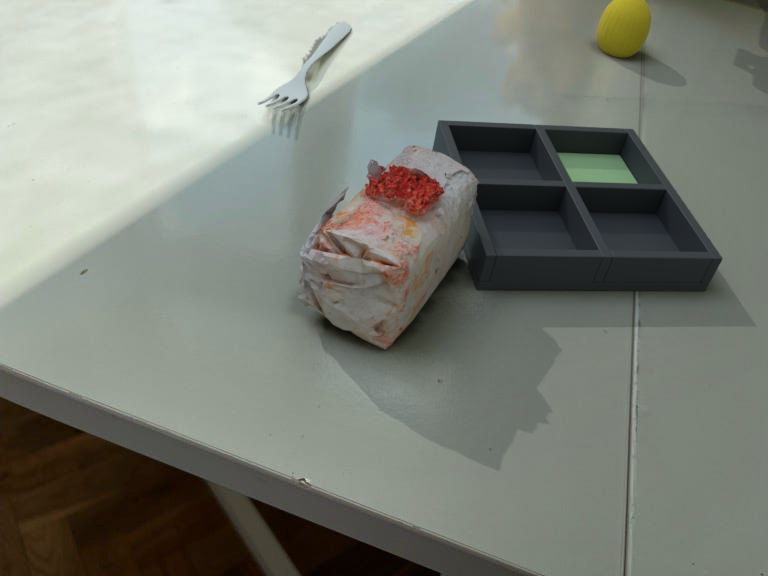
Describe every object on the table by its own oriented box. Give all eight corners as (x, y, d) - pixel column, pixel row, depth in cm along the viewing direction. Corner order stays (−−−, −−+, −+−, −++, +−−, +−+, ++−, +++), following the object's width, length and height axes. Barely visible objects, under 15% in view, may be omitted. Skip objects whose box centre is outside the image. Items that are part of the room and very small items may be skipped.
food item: (392, 370, 50) (416, 252, 44) (285, 321, 52) (293, 201, 46) (470, 258, 60) (499, 147, 53) (377, 220, 62) (394, 109, 55)
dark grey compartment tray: (621, 159, 74) (633, 128, 72) (705, 291, 60) (723, 258, 58) (431, 152, 70) (438, 119, 68) (476, 290, 57) (486, 255, 55)
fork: (359, 27, 88) (361, 12, 87) (285, 128, 70) (286, 111, 69) (332, 21, 89) (333, 5, 87) (252, 120, 71) (252, 102, 69)
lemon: (624, 77, 87) (649, 7, 82) (580, 59, 90) (602, -10, 84) (643, 63, 91) (668, -5, 86) (600, 46, 93) (622, -22, 88)
